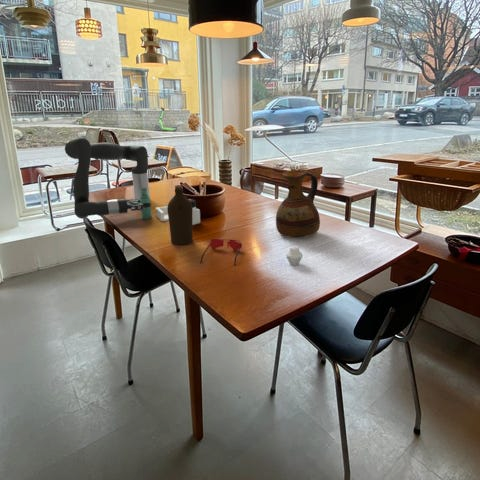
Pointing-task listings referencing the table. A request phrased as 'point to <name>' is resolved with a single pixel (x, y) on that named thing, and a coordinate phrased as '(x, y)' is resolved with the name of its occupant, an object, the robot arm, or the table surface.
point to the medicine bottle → (195, 213)
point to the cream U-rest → (162, 213)
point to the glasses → (219, 242)
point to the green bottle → (145, 199)
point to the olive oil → (180, 218)
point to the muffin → (294, 256)
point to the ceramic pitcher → (298, 207)
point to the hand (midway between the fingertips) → (148, 202)
